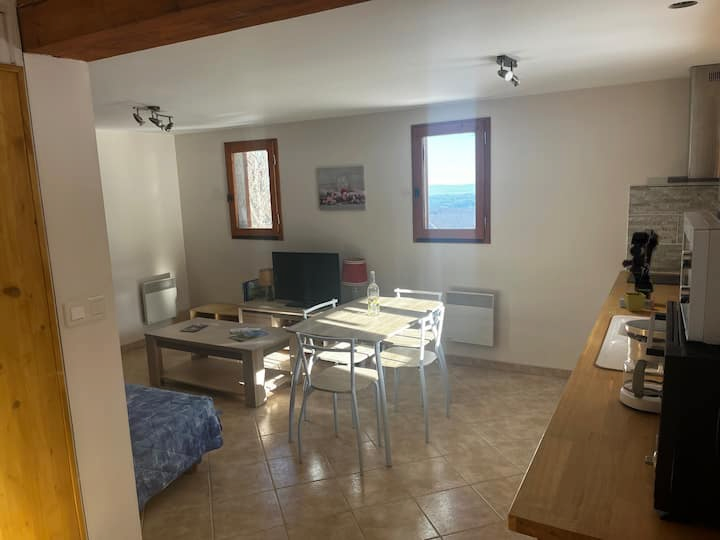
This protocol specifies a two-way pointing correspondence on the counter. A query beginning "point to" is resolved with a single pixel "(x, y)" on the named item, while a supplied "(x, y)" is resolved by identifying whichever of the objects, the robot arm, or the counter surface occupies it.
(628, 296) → the flower pot
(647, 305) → the walnut block
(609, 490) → the counter surface
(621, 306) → the grey block
